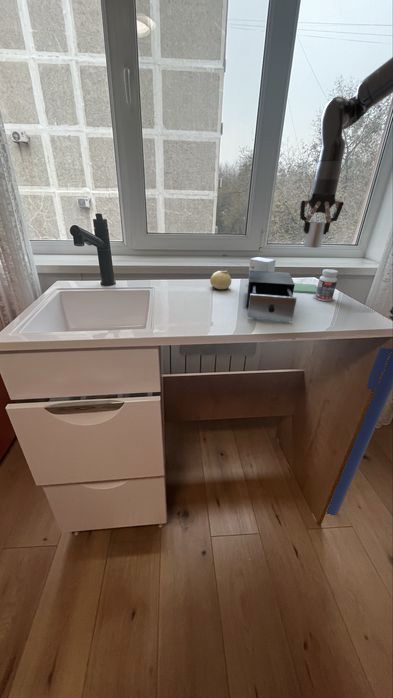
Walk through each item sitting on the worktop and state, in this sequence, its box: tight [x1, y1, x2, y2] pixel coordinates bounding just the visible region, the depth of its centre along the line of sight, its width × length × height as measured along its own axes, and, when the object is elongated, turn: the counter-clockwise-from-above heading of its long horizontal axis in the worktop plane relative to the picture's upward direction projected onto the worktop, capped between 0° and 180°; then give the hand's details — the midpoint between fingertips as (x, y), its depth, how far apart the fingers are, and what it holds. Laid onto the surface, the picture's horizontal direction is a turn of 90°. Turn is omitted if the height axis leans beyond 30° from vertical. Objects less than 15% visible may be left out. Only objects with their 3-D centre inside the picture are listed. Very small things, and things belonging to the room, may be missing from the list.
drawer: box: [247, 284, 298, 322], centre depth 85 cm, size 15×12×7 cm
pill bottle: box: [314, 268, 339, 302], centre depth 99 cm, size 6×6×10 cm
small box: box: [247, 256, 276, 280], centre depth 110 cm, size 8×6×10 cm
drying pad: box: [293, 282, 317, 294], centre depth 111 cm, size 10×10×1 cm
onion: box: [209, 269, 232, 291], centre depth 108 cm, size 8×8×7 cm
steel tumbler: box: [303, 220, 326, 249], centre depth 101 cm, size 6×6×8 cm
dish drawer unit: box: [245, 269, 295, 309], centre depth 95 cm, size 15×14×9 cm
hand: (315, 233), depth 101 cm, fingers closed on steel tumbler, 5 cm apart
